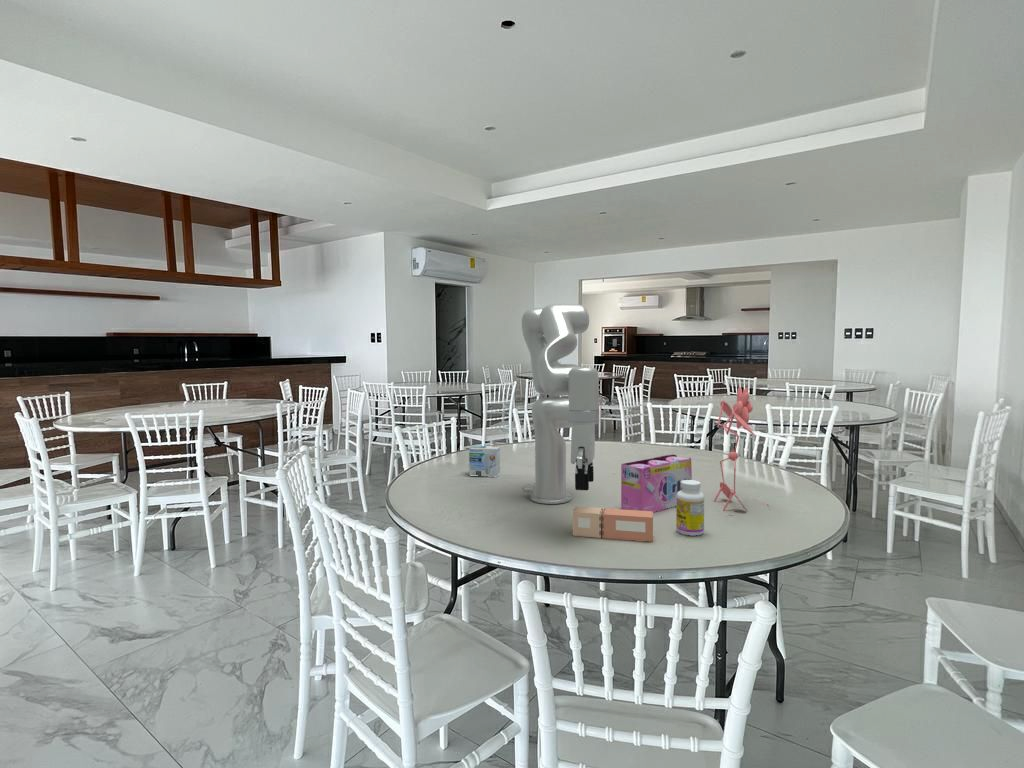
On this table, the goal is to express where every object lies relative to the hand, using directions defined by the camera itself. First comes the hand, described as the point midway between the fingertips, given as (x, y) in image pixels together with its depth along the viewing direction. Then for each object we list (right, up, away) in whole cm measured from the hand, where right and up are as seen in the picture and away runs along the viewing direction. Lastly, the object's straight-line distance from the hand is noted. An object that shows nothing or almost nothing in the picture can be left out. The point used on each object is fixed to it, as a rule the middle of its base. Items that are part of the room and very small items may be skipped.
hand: (584, 485), depth 135 cm
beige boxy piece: (+1, -12, +1) cm, 12 cm away
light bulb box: (-28, -9, +66) cm, 72 cm away
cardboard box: (+10, -12, -1) cm, 16 cm away
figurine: (+49, -11, +23) cm, 55 cm away
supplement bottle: (+27, -12, +1) cm, 29 cm away
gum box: (+25, -11, +24) cm, 36 cm away
